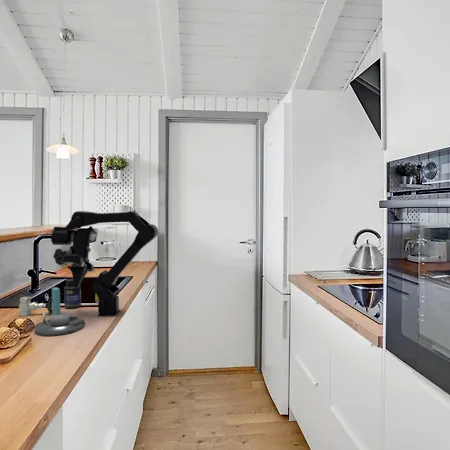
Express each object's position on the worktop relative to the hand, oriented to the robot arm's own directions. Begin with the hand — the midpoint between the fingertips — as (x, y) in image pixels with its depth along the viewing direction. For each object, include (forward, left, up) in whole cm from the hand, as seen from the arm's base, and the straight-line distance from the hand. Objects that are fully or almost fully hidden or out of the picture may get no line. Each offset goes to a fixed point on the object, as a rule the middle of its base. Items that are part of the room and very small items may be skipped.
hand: (76, 287), depth 127 cm
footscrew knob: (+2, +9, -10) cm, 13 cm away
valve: (+18, -6, -12) cm, 22 cm away
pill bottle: (+8, -16, -12) cm, 22 cm away
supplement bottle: (-1, -24, -12) cm, 27 cm away
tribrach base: (+1, +10, -11) cm, 15 cm away
